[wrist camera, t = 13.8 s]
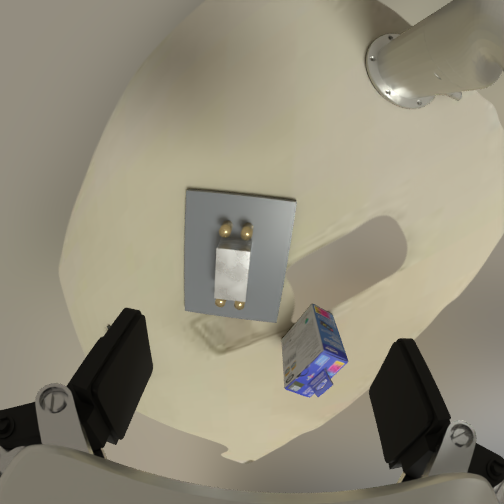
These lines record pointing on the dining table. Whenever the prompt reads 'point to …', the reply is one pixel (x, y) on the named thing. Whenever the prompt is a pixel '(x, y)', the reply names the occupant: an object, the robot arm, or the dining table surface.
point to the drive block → (232, 269)
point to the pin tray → (244, 227)
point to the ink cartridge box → (312, 353)
